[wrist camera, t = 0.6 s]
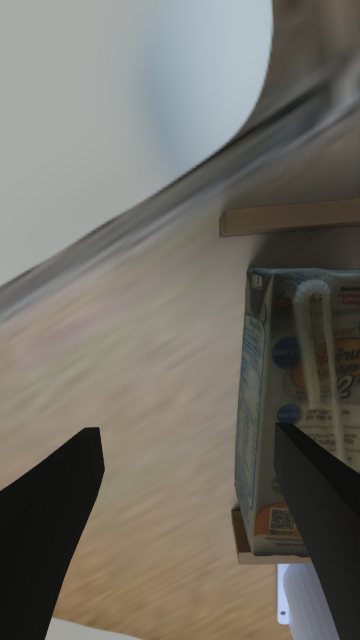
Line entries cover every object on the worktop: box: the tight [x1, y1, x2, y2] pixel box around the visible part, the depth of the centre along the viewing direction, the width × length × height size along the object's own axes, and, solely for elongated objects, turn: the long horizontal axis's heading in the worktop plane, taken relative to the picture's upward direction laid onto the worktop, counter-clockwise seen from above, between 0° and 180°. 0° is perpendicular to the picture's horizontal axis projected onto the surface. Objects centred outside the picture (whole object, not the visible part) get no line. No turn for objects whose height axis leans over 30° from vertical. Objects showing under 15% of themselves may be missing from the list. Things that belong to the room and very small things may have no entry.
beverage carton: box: [234, 268, 360, 558], centre depth 18 cm, size 8×19×7 cm, turn 0°
